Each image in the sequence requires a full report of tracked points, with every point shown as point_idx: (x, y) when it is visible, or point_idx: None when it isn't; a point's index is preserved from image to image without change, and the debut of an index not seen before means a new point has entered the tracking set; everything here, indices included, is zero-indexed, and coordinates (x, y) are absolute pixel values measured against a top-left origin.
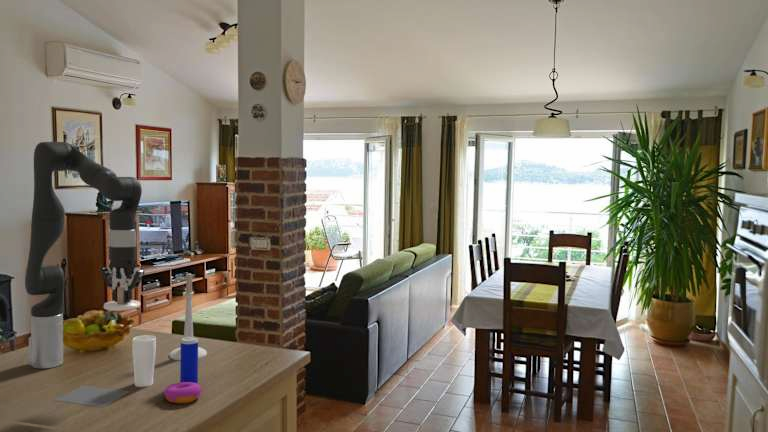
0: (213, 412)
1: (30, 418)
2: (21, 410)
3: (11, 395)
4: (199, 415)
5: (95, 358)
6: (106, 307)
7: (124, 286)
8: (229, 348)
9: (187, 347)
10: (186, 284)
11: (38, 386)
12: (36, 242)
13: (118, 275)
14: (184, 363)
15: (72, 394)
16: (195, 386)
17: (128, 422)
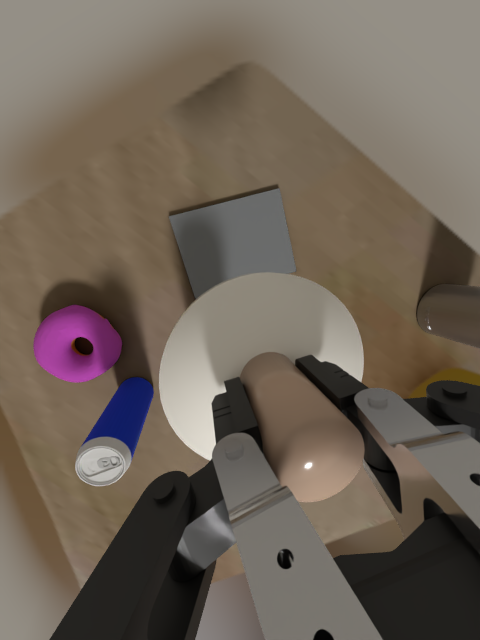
0: None
1: (244, 106)
2: (293, 127)
3: (370, 170)
4: None
5: (393, 376)
6: (281, 273)
7: (261, 460)
8: (237, 547)
9: (90, 435)
10: None
11: (366, 229)
12: None
13: (471, 592)
14: (115, 404)
15: (274, 228)
16: (41, 361)
17: (64, 196)
